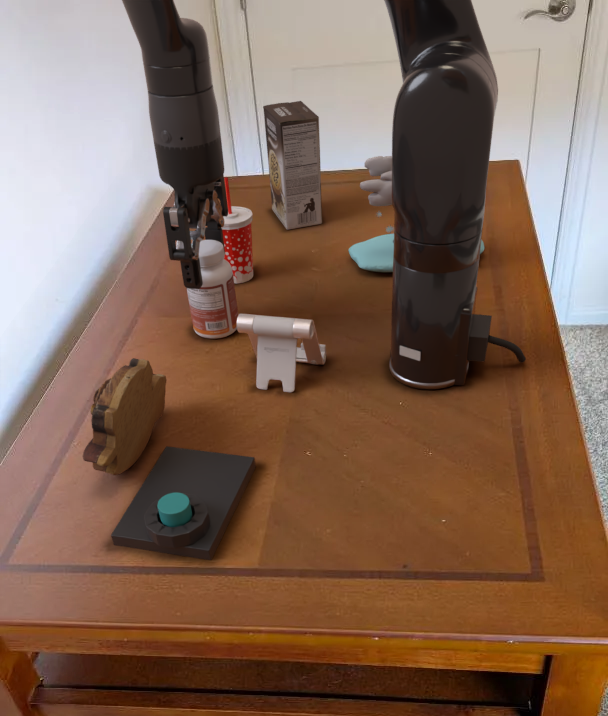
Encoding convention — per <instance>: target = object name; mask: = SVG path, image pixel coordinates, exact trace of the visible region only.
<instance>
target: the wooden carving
mask: <svg viewBox="0 0 608 716" xmlns="http://www.w3.org/2000/svg"><path fill="white" fill-rule="evenodd" d="M166 388H167V376H166V375H165V374H162V373H157V374H156V373H154V372H153V367H152V365H151V363H150V361H149V360H148V359H144V358H134V357H132V358H131V359H130V361H129V364H128V365H127V364H125V365H123V366H121V367H120V368H119V369H118V370H116V371H115V372H114V373H113V375H112V377H110V378H108V379H106V380H105V381H104V382H103V383H102V384H101V386H100V387H98V388H97V389H96V390H95V392H94V394H93V400H92V401H93V403H92V405H90V414H91V421H90V423H91V428H92V439H91V440H90V441H89V442H88V443H87V445H86V446H85V448H84V449H83V452H82V459H83V461H84V462H87V463H91V464H92V468H93V470H95V471H98V472H104V473H106V474H109V475H112V476H117V475H121V474H122V473H124V472H126V471H128V470H129V469H130V468H132V467H133V466H134V464H135V463H136V462H137V461H138V460H139V458H140V457H141V455H142V454H143V452H144V450H145V449H146V447H147V445H148V443H149V440H150V438H151V436H152V433H153V429H154V427H155V425H156V422H157V421H159V420H160V419H161V418H162V415H163V414H164V412H165V409H166V408H165V406H166V392H167V391H166Z"/></svg>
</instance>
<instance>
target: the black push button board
mask: <svg viewBox="0 0 608 716" xmlns="http://www.w3.org/2000/svg"><path fill="white" fill-rule="evenodd" d="M256 467H257V466H256V458H255V456H247V455H238V454H232V453H231V454H230V453H223V452H216V451H208V450H199V449H193V448H191V449H190V448H183V447H175V446H167V445H166V446H165V448H164V449H163V451H162V452H161V454H160V455H159V457H158V459H157V460H156V462H155V464H154V465H153V467H152V468H151V470H150V472H149V473H148V475H147V476H146V478H145V479H144V480H143V483H142V484H141V485H140V488H139V489H138V491H137V492H136V494H135V495H134V498H132V500H131V501H130V504H129V505H128V506H127V508H126V510H125V511H124V513H123V514H122V516H121V518H120V520H119V521H118V522H117V524H116V526H115V527H114V529H113V531H112V533H111V534H110V538H111V541H112V544H113V545H114V546H119V547H124V548H130V549H137V550H143V551H148V552H149V551H151V552H155V553H162V554H169V555H173V556H174V555H175V556H182V557H186V558H187V557H188V558H194V559H200V560H205V561H212V560H213V558H214V555H215V553H216V551H217V549H218V547H219V545H220V543H221V540H222V539H223V536H224V534H225V532H226V531H227V529H228V526H229V524H230V522H231V520H232V517H233V516H234V514H235V512H236V510H237V508H238V506H239V503H240V502H241V499H242V497H243V496H244V493H245V491H246V488H247V487H248V484H249V482H250V480H251V478H252V477H253V474H254V472H255V470H256ZM170 493H182V494H185V495H186V496H187V497H188V498H189V500H190V505H191V510H192V518H191V520H190V521H189V522H188V523H186V524H185V525H183V526H178V527H168V526H166V525H164V524H163V523H162V522H161V519H160V515H159V511H158V507H157V504H158V501H159V500H160V499H161V498H162V497H163V496H165V495H167V494H170Z"/></svg>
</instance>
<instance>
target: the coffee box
mask: <svg viewBox="0 0 608 716" xmlns="http://www.w3.org/2000/svg"><path fill="white" fill-rule="evenodd" d="M262 108H263V118H264V130H265V131H264V132H265V140H266V151H267V163H268V175H269V176H268V177H269V186H270V199H271V210H272V212H273V213H274V214H275V215H276V217H277V218H278V220H279V221H280V222H281V224H282V225H283V227H284V228H285V229H286V230H295V229H299V228H305V227H310V226H311V227H312V226H317V225H321V224H323V210H322V208H323V207H322V175H321V173H322V171H321V141H320V139H321V138H320V117H319V116H318V114H316V113H315V112H314V111H313V110H312V109H311V108H309V107H308V106H307V105H306V104H305V103H304V102H303V101H302V100H297V101H291V102H278V103H277V102H276V103H271V104H266V105H263V107H262Z"/></svg>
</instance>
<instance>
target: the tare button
mask: <svg viewBox="0 0 608 716" xmlns="http://www.w3.org/2000/svg"><path fill="white" fill-rule="evenodd" d="M157 507H158V511H159V515H160V519H161V522H162V523H163V524H164V525H166V526H168V527H178V526H183V525H185V524H186V523H188V522H189V521H190V520H191V518H192V510H191V505H190V500H189V498H188V497H187V496H186V495H185V494H182V493H170V494H167V495H165V496H163V497H162V498H161V499H160V500H159V501H158V504H157Z"/></svg>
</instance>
